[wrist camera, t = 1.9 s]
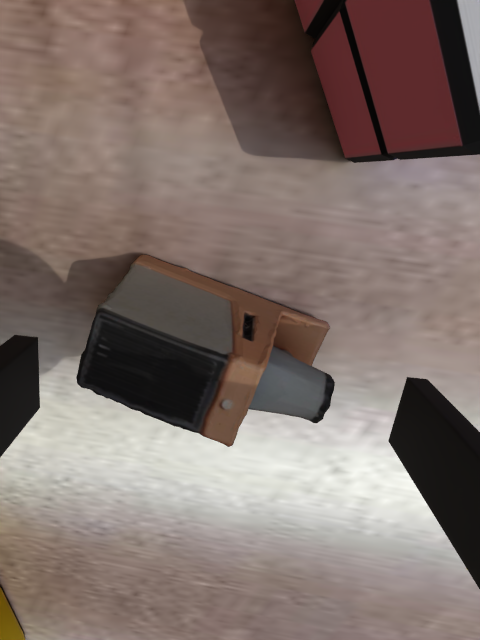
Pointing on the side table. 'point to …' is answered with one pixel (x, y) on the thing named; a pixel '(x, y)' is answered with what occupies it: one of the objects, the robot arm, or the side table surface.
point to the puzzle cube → (399, 75)
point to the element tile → (8, 621)
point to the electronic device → (202, 352)
